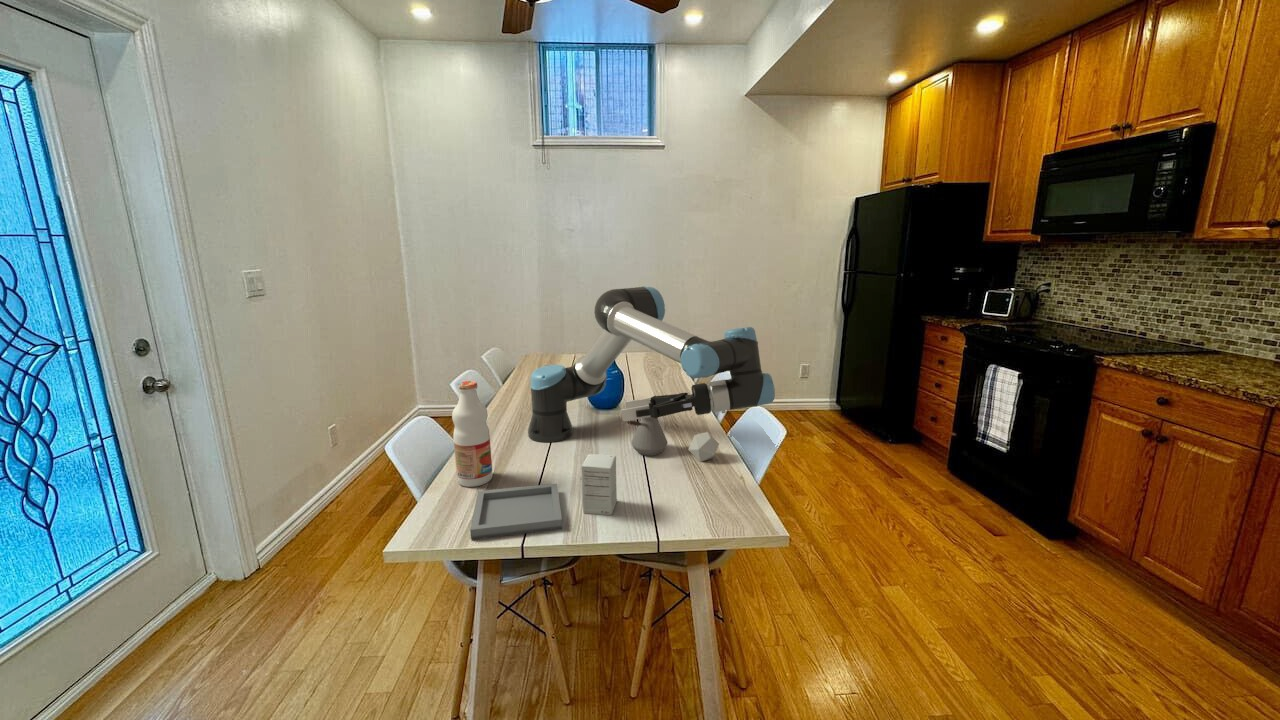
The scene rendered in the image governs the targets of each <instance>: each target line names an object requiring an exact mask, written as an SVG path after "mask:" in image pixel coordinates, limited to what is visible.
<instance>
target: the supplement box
mask: <svg viewBox="0 0 1280 720" xmlns="http://www.w3.org/2000/svg"><path fill="white" fill-rule="evenodd" d="M581 490H582V491H581V492H582V513H583V514H590V515H603V516H612V515H613V512H614V510H615V507H616V502H617V499H618V496H617V494H618V493H617V455H613V454H594V453H592V454H587V456H586V458H585V459H584V461H583V463H582V464H581Z"/></svg>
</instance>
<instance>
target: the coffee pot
mask: <svg viewBox="0 0 1280 720" xmlns="http://www.w3.org/2000/svg"><path fill="white" fill-rule="evenodd" d="M650 416H651V415H650ZM658 418H659V417H658ZM658 418H653V417H648V418H642V419H640V421H636V420H629V421H624V423H623V427H624V428H625V429H627V427H626V426H625V424H626V423H627V424H629V425H630V426H629V427H628V429H630V428H631V427H632V425H633V426H637V428H636V430H635V433H634V435H633V437H632V439H631V442H630V443H631V446H632V449H634V451H636V452H637V453H638V454H639V455H642V456H646V457H651V456H658V455H660V454H662V452H664V451H665V449H666V448H667V446H668V439H667V437H666V435H665V432H664V431H663V428H662V426H661V423H660V421H659V419H658Z"/></svg>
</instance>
